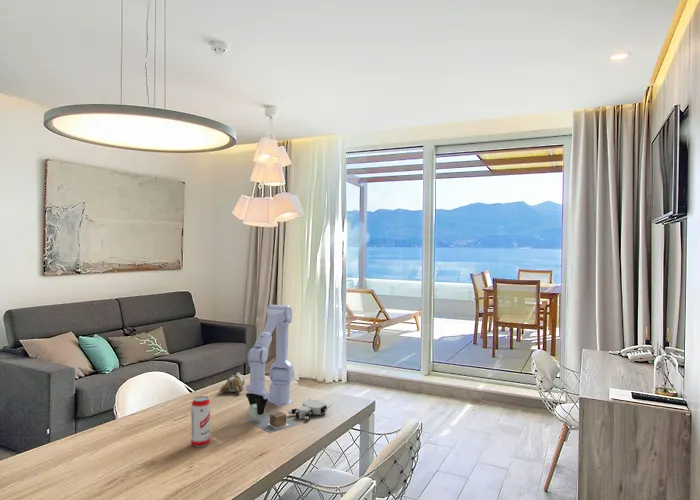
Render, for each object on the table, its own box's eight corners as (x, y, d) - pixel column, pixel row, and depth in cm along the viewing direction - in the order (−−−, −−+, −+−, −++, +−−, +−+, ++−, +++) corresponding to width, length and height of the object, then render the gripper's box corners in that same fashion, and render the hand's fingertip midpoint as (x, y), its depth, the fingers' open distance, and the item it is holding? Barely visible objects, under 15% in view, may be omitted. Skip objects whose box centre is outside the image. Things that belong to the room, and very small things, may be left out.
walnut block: (269, 424, 181) (270, 413, 181) (279, 421, 184) (279, 411, 184) (276, 427, 178) (276, 417, 178) (286, 424, 181) (286, 414, 181)
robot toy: (307, 426, 183) (332, 413, 195) (307, 415, 183) (332, 402, 194) (285, 419, 191) (311, 406, 202) (285, 408, 190) (310, 396, 202)
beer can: (213, 442, 165) (214, 396, 165) (202, 449, 159) (202, 402, 159) (198, 439, 167) (199, 394, 167) (187, 446, 161) (187, 400, 161)
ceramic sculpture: (249, 369, 231) (240, 379, 217) (249, 386, 232) (240, 397, 217) (228, 368, 232) (217, 378, 217) (228, 385, 233) (218, 397, 218)
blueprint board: (245, 420, 186) (245, 419, 186) (275, 412, 195) (275, 411, 195) (269, 434, 173) (269, 432, 173) (300, 425, 182) (300, 423, 182)
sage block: (249, 414, 185) (249, 404, 185) (259, 412, 188) (259, 402, 188) (255, 418, 182) (255, 407, 182) (265, 415, 185) (265, 405, 185)
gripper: (239, 376, 188) (239, 409, 188) (258, 384, 177) (257, 420, 177) (254, 373, 192) (254, 406, 192) (274, 380, 182) (273, 415, 182)
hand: (257, 412), depth 185 cm, fingers closed on sage block, 4 cm apart
